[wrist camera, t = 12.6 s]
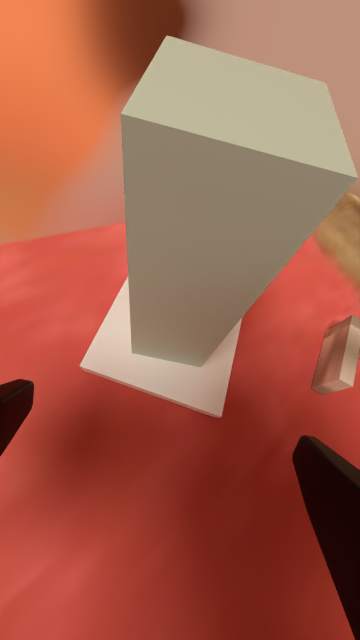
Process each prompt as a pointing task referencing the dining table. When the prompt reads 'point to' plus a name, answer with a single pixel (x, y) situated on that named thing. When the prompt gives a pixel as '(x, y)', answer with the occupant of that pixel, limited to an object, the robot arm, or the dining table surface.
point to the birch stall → (338, 357)
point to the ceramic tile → (159, 364)
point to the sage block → (219, 190)
